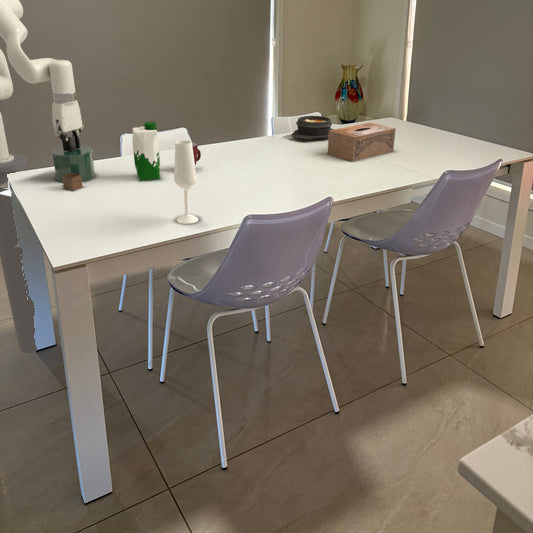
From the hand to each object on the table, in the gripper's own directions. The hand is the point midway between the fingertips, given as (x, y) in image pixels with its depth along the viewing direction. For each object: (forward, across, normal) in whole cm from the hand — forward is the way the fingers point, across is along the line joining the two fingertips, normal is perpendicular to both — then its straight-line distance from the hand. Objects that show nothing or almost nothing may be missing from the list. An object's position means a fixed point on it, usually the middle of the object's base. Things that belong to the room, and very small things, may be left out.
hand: (71, 149), depth 213 cm
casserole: (+11, -99, +55) cm, 114 cm away
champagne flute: (+11, +17, +60) cm, 63 cm away
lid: (+1, 0, 0) cm, 1 cm away
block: (+10, +10, +8) cm, 17 cm away
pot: (+10, 0, 0) cm, 10 cm away
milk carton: (+11, -12, +24) cm, 29 cm away
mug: (+11, -28, +32) cm, 44 cm away
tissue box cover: (+11, -83, +83) cm, 118 cm away
